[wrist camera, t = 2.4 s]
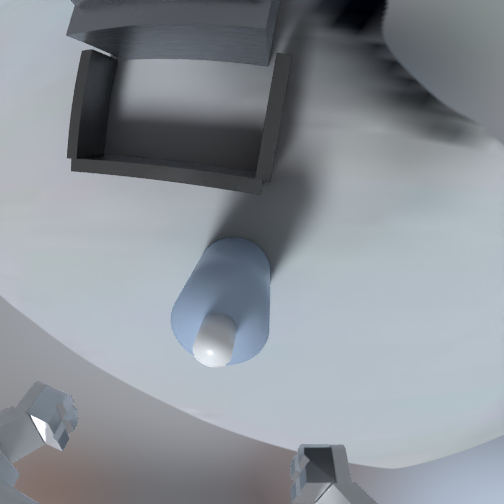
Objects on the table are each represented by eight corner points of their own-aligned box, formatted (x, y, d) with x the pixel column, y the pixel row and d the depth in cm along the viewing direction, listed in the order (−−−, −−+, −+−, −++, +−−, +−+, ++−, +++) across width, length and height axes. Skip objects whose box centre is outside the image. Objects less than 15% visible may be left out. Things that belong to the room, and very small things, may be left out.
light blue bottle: (276, 243, 21) (279, 316, 12) (263, 307, 22) (257, 397, 14) (203, 231, 21) (158, 294, 12) (196, 295, 22) (159, 378, 14)
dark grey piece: (304, -26, 14) (322, -116, 4) (268, 186, 19) (264, 231, 10) (133, -28, 14) (66, -89, 4) (94, 164, 19) (-8, 191, 10)
